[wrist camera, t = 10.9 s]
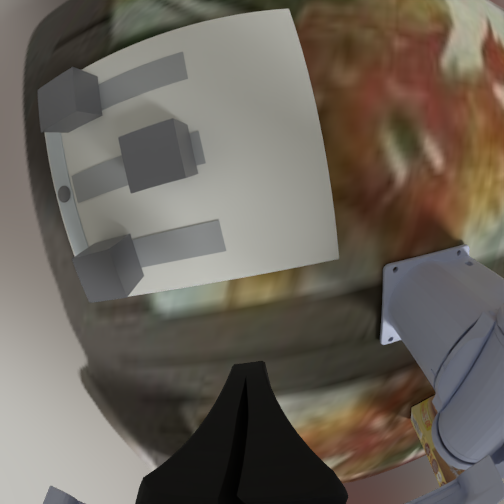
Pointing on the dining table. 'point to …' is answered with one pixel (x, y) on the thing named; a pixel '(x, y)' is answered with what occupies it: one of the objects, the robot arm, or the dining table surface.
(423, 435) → the candy box
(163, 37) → the switch panel
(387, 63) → the dining table surface
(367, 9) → the dining table surface
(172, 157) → the dark gray cube
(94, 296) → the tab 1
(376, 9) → the dining table surface
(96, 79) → the gray cube
